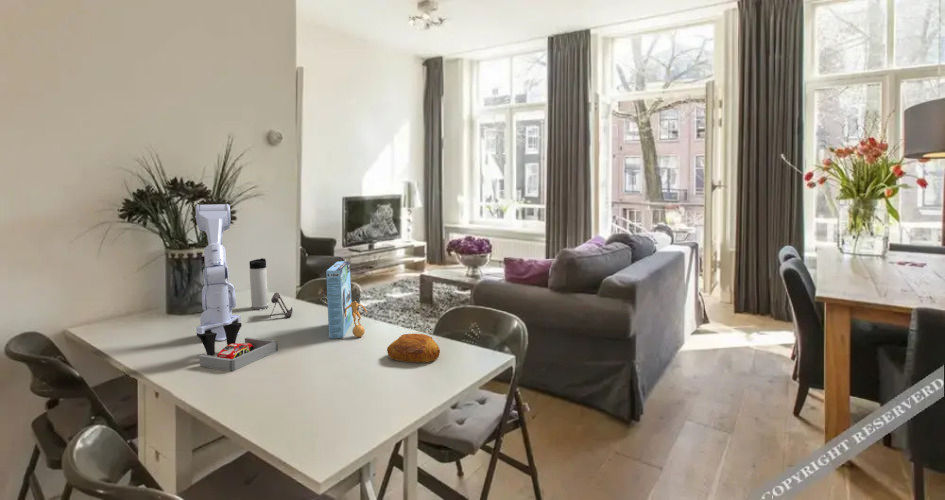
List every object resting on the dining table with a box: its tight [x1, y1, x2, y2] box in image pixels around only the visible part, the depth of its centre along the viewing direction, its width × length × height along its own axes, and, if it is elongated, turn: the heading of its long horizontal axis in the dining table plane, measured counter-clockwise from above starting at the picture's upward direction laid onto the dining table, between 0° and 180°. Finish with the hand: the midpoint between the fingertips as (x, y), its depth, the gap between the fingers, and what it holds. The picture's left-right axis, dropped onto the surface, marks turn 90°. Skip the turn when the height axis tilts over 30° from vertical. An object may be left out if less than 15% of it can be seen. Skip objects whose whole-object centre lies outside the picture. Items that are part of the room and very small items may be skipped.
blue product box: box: [325, 260, 353, 339], centre depth 174 cm, size 20×5×23 cm, turn 4°
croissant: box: [386, 333, 441, 364], centre depth 150 cm, size 14×16×8 cm
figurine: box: [345, 300, 368, 338], centre depth 168 cm, size 8×6×12 cm
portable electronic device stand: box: [269, 292, 293, 319], centre depth 193 cm, size 9×8×8 cm
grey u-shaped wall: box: [198, 336, 279, 373], centre depth 148 cm, size 12×18×3 cm, turn 161°
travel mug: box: [248, 257, 269, 311], centre depth 204 cm, size 6×7×20 cm
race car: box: [216, 342, 254, 359], centre depth 150 cm, size 13×5×4 cm, turn 171°
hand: (221, 350), depth 150 cm, fingers open, 7 cm apart
